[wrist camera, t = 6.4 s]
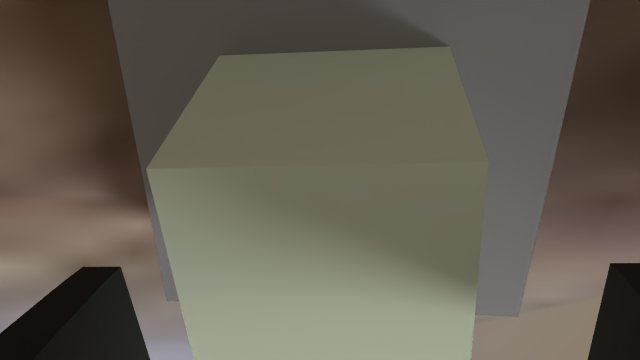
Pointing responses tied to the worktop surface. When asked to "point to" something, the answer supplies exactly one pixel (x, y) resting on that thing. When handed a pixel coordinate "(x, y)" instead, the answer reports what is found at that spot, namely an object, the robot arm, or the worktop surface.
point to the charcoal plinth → (381, 33)
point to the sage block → (325, 207)
